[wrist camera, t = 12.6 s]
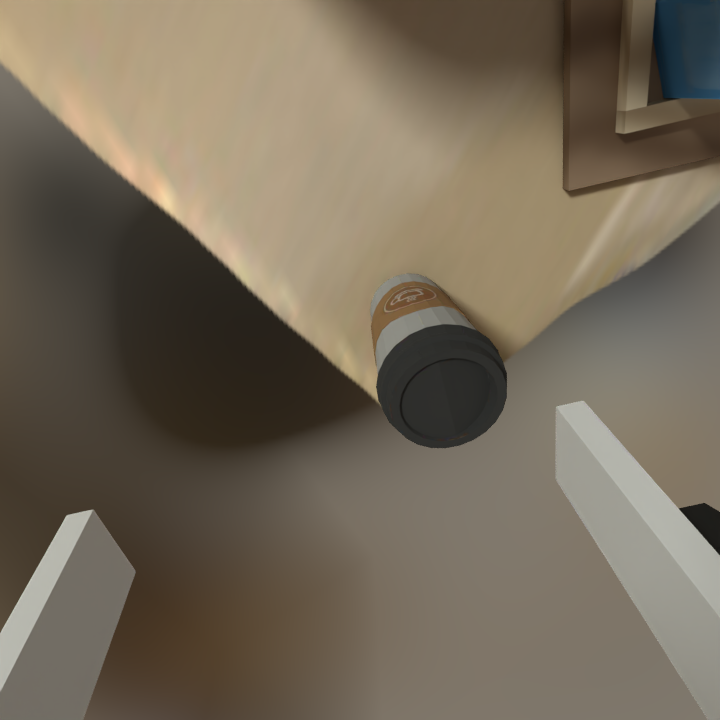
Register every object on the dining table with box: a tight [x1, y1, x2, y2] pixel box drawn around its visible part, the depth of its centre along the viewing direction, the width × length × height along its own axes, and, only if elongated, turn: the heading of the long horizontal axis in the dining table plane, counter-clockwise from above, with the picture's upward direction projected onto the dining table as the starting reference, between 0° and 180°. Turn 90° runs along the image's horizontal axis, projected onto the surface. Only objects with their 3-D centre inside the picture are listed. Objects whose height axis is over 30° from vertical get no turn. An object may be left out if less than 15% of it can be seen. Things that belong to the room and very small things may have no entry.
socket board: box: [563, 0, 720, 191], centre depth 33 cm, size 18×18×2 cm
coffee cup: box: [370, 274, 507, 448], centre depth 36 cm, size 8×8×15 cm
